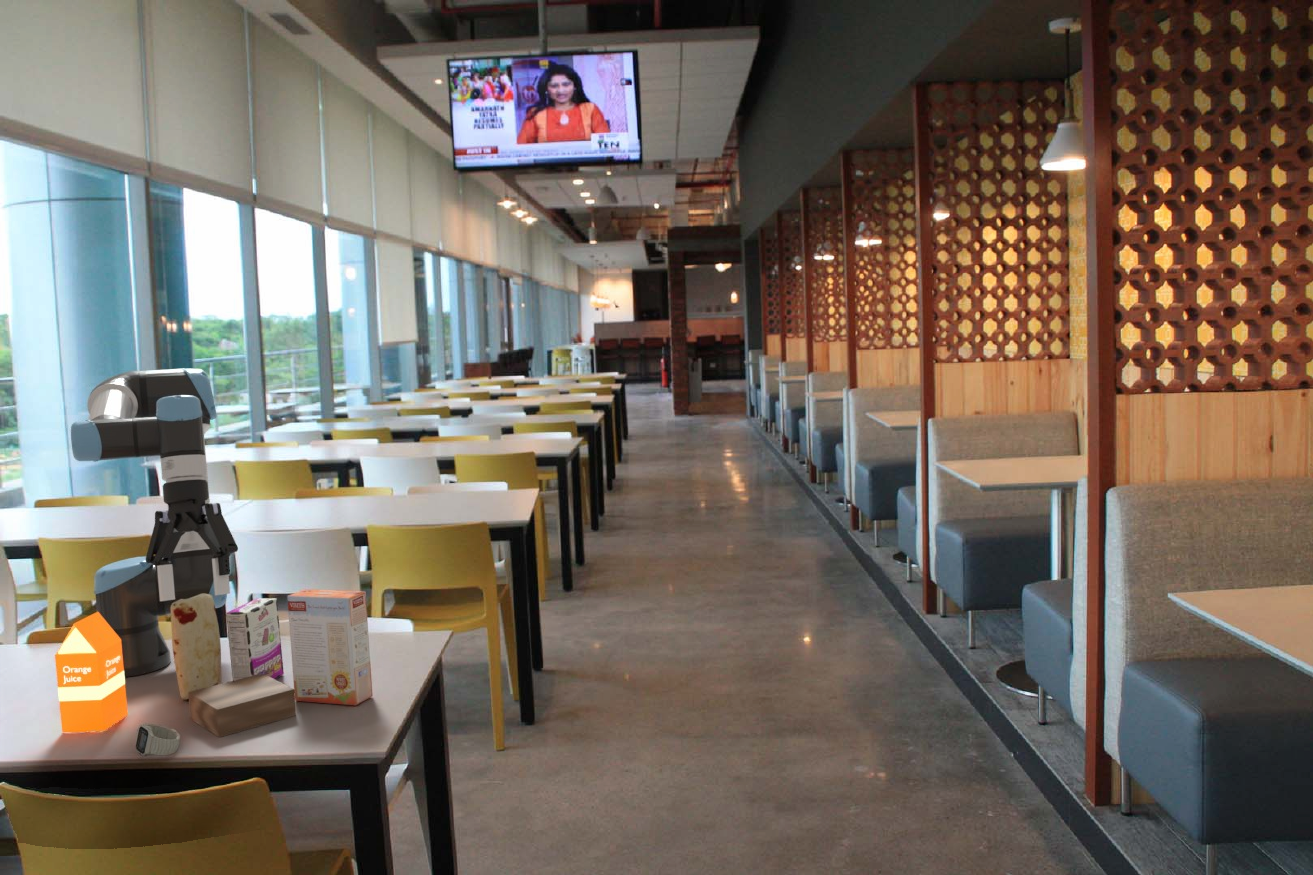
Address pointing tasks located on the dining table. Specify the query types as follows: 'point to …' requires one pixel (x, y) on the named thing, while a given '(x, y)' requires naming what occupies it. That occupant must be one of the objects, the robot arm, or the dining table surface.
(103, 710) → the orange juice
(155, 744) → the wristwatch
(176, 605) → the food model
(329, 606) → the cracker box
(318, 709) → the dining table surface
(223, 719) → the walnut base
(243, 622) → the candy bar box
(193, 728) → the dining table surface
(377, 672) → the dining table surface
